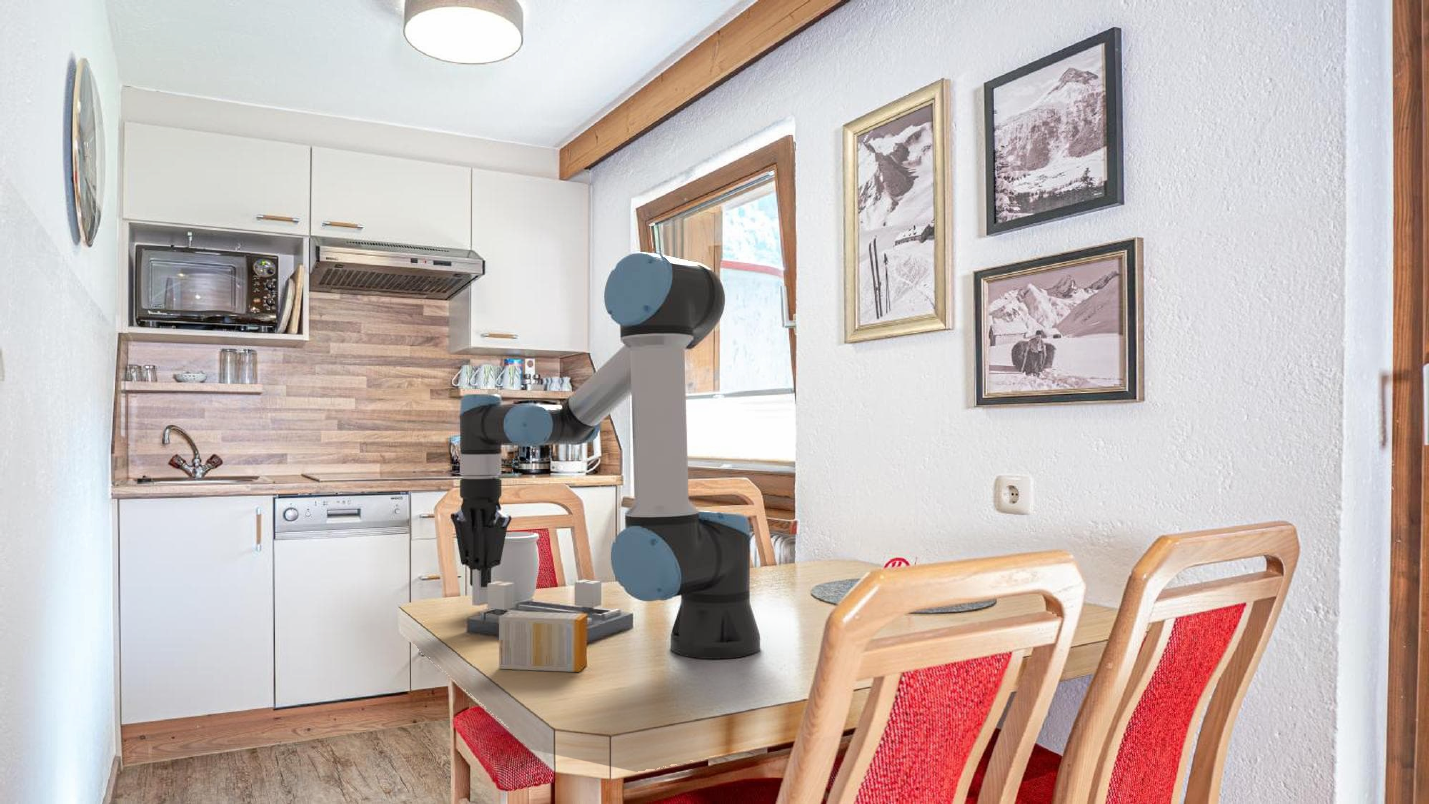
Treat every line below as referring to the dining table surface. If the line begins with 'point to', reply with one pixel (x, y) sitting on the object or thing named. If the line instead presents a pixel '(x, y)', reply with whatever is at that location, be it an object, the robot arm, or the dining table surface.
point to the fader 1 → (500, 596)
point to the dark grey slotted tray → (597, 621)
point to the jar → (519, 564)
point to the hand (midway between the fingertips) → (480, 604)
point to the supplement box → (543, 641)
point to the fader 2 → (587, 594)
